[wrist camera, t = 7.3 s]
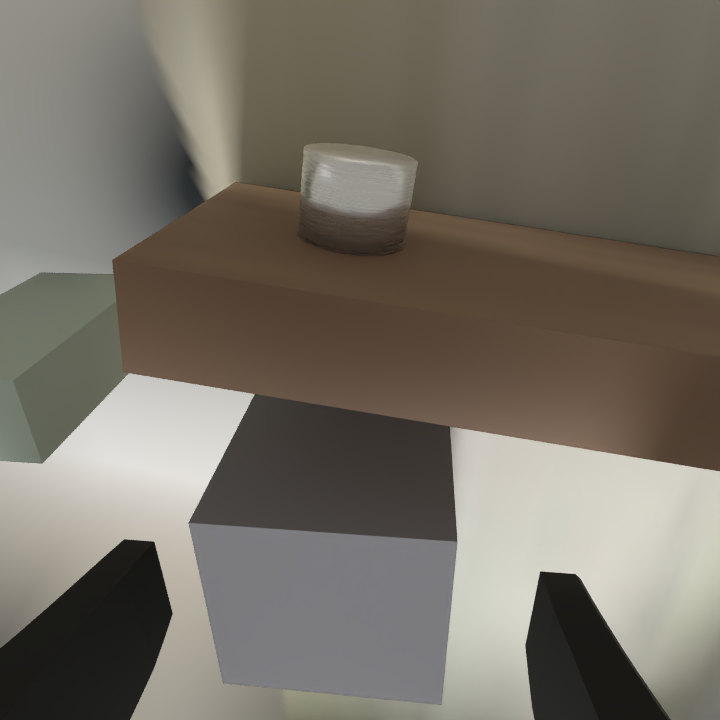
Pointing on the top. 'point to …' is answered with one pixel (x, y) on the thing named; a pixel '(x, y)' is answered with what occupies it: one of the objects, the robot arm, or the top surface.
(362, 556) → the grey notched block
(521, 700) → the top surface
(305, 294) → the brown rectangular bar
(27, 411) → the pale green rectangular bar
